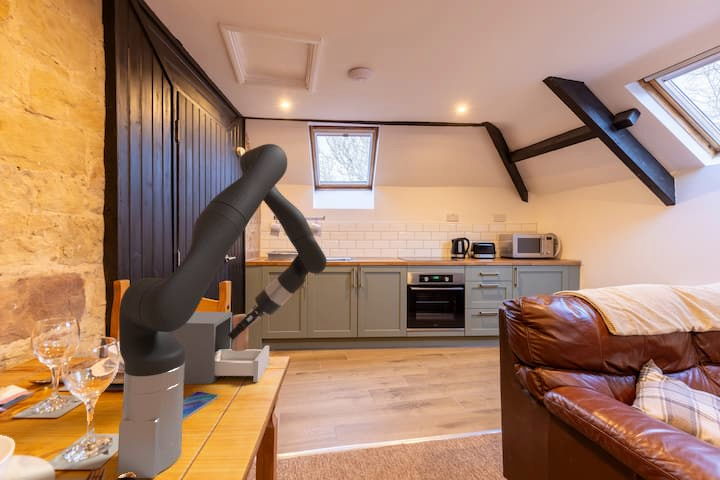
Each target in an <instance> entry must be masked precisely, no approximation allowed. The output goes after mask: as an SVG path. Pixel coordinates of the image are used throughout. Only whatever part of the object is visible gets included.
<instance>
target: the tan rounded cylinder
mask: <svg viewBox="0 0 720 480" xmlns="http://www.w3.org/2000/svg"><path fill="white" fill-rule="evenodd" d="M246 314H247V313H240V314H234V315H232V330H233V329H234V328H235V327H236V326H237V324H238V323H240V322H241V321H242V318H243V317H244V316H245V315H246ZM242 326H243V327H245V325H244V324H243V323H242ZM248 348H249V326H248V327H247V328H246V329H245V330H244V331H242V332H241V333H240V334H239V335H238V336H237V337H236V338H235V339H231V349H232V350H233V351H243V350H246V349H248Z"/></svg>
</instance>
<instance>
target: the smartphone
mask: <svg viewBox="0 0 720 480" xmlns="http://www.w3.org/2000/svg"><path fill="white" fill-rule="evenodd" d="M218 398H219V395H218V394H216V393H210V392H204V391H195V392H193V393H192V394H190V395H188V396H187V397H184V398H183V421H185V420H186V419H188V418H189V417H191V416H192V415H193V414H196V413H197V412H199V411H200V410H202V409H203V408H205V407H206V406H208V405H209V404H211V403H212V402H214V401H216V400H217V399H218Z"/></svg>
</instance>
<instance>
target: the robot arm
mask: <svg viewBox="0 0 720 480" xmlns="http://www.w3.org/2000/svg"><path fill="white" fill-rule="evenodd" d="M239 159H240V160H239V167H240V170H241V172H242V174H243V175H242V176H241V177H239V178H238V179H236V180H235V181H234V182H232V183H231V184H229V185H228V186H227V187H226V188H224V189H223V190H221V192H219V193H218V194H217V195H216V196H214V197H213V199H212V200H210V202H209V203H208V204H207V205H206V206H205V208H203V210H202V211H201V213H200V214H199V215H198V216H197V217H196V220H195V221H194V225H193V228H192V233H191V239H190V240H191V241H190V245H189V250H188V252H187V253H186V255H185V257H184V259H183V260H182V261H181V262H180V264H179V265H178V266H177V267H176V269H175V270H174V271H173V272H172V273H171V274H170V275H169V276H168V277H167V278H159V277H143V278H140V279H138V280H135V281H134V282H133V283H131V284H130V285H129V286H128V287H127V288H126V290H125V291H124V292H123V293H122V294H123V295H122V298H121V300H120V304H119V311H118V334H119V335H118V337H119V338H118V339H119V341H118V343H119V353H120V356H121V358H122V360H123V363H124V365H123V366H124V369H123V371H124V375H123V376H124V377H123V394H122V395H123V397H122V419H121V421H120V422H119V424H118V448H117V470H116V471H117V472H116V473H117V474H116V478H117V477H119V476H120V475H122V474H125V473H128V472H133V473H134V474H135V475H136V478H135V479H154V478H156V477H157V475H159V473H161V472H163V471H165V470H166V469H168V468H170V467H171V466H172V465H173V464H175V463H176V462H177V461H178V459H180V457H181V454H182V450H183V449H182V447H183V422H184V420H183V399H184V391H185V389H184V388H185V384H184V370H185V348H184V346H183V345H182V344H181V343H180V342H179V341H178V340H177V339H176V338H175V336H174V334H173V332H172V331H175V330H177V329H179V328H180V327H182V326H183V325H184V324H185V323H187V322H188V320H189V319H190V318H191V317H192V315H193V314H194V312H197V311H196V310H197V308H198V307H199V305H200V303H201V301H202V300H203V297H204V296H205V293H206V292H207V290H208V288H209V286H210V284H211V282H212V280H213V278H214V277H215V274H216V273H217V271H218V270H219V269H220V267H221V265H222V264H223V262H224V260H225V259H226V257H227V255H228V254H229V252H230V251H231V249H232V248H233V246H234V245H235V243H237V241H238V239H239V238H240V236H241V235H242V234H243V232H244V230H245V229H246V227H247V226H248V224H249V223H250V221H251V219H252V218H253V216H254V214H255V213H256V212H257V211H258V209H259V207H260V206H261V205H262V203H263V202H264V203H265V204H266V205H267V207H268V209H270V211H271V212H272V213H273V215H274V217H276V220H278V222H279V224H280V225H281V227H282V229H283V230H284V232H285V234H286V236H287V237H288V240H289V242H291V244H292V246H293V247H294V249H295V250H296V253H297V255H296V256H295V258H294V259H292V260H293V261H292V262H291V263H290V265H289V266H288V267H287V268H286V269H285V270H284V271H283V272H282V273H280V274H279V275H278V277H276V278H275V279H274V280H273V281H271V282H270V283H268V284H267V286H266V287H264V289H262V290H261V292H260V293H258V294H257V295H256V296H255V298H254V300H255V303H256V304H257V305H254V306H252V307H251V308H250V309H249V311H248V312H247V313H245V314H246V315H245V316H244V317H243V318H242V321H241V322H240V323H238V324H237V326H236V327H235V328H234V329H233V330H232V331H231V332H230V333H229V334H228V336H229V337H230V338H231V340H232V339H235V338H236V337H237V336H238V335H239V334H240V333H241V332H242V331H244V330H245V329H246V328H247V327H248V328H249V327H251V326H253V324H255V323H256V322H257V321H259V320H260V319H261V318H262V317H263V316H264V315H265V314H267V315H274V314H276V312H277V311H278V310H279V309H280V308H281V307H282V306H283V305H284V304H286V302H287V301H288V300H289V299H290V298H291V297H292V296H293V294H295V293H296V292H297V291H298V290H299V289H300V288H301V287H302V286H303V285H304V284H305V282H306V276H307V275H308V274H309V273H311V274H320V273H322V272H323V271H325V269H326V267H327V262H328V261H327V256H326V255H325V253H324V251H323V250H322V248H321V246H320V245H319V243H318V242H317V240H316V237H315V236H314V233H313V231H312V229H311V226H310V225H309V223H308V221H307V219H306V217H305V216H304V214H303V213H302V212H301V210H299V209H298V207H297V206H295V205H294V204H293V203H292V202H290V200H289V199H287V198H286V197H284V195H283V194H282V193H281V192H280V190H279V189H278V188H277V187H276V185H277V184H278V182H279V181H280V180H281V179H282V178H283V176H284V175H285V174H286V171H287V168H288V157H287V154H286V152H285V151H284V149H283V148H282V147H280V145H277V144H274V143H266V144H262V145H259V146H257V147H254V148H252V149H249V150H247V151H245V152H244V153H242V155H241V157H240V158H239ZM242 323H243V324H244V325H245V327H243V326H242Z"/></svg>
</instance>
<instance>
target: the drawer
mask: <svg viewBox="0 0 720 480" xmlns="http://www.w3.org/2000/svg"><path fill="white" fill-rule="evenodd" d="M269 364H270V345H267V344H266V345H265V346H264V347H263V348H262V349H252V348H250V349H246V350H243V351H233V350H232V348H231V349H219V350H218V351H217V352H216V353H215V365H214V376H219V377H220V376H221V377H224V376H225V377H230V376H231V377H237V376H238V377H253V378H252V379H253V381H252V382H253V383H258V382H259V380H261V377H262V376H263V373H264V372H265V371H266V369H267V367H268V366H269Z"/></svg>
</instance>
